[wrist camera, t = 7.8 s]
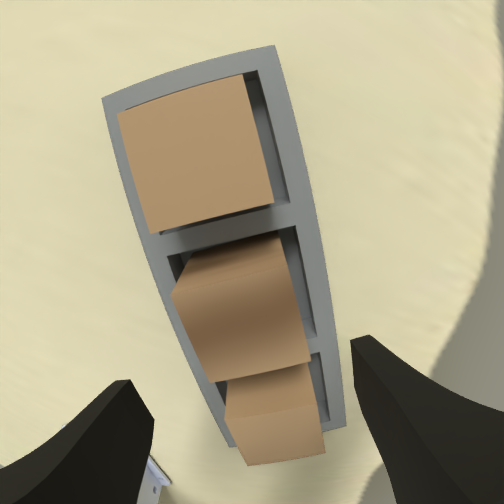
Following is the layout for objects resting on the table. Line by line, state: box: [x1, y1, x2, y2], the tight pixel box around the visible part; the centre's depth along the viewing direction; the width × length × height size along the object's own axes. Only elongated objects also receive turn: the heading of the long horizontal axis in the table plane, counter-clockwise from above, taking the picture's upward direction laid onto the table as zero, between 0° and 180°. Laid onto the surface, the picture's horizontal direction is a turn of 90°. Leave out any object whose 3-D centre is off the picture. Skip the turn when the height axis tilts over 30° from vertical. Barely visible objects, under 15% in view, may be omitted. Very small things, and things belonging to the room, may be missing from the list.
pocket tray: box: [101, 45, 346, 466], centre depth 15 cm, size 22×8×6 cm, turn 14°
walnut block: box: [170, 230, 311, 383], centre depth 15 cm, size 4×4×5 cm
